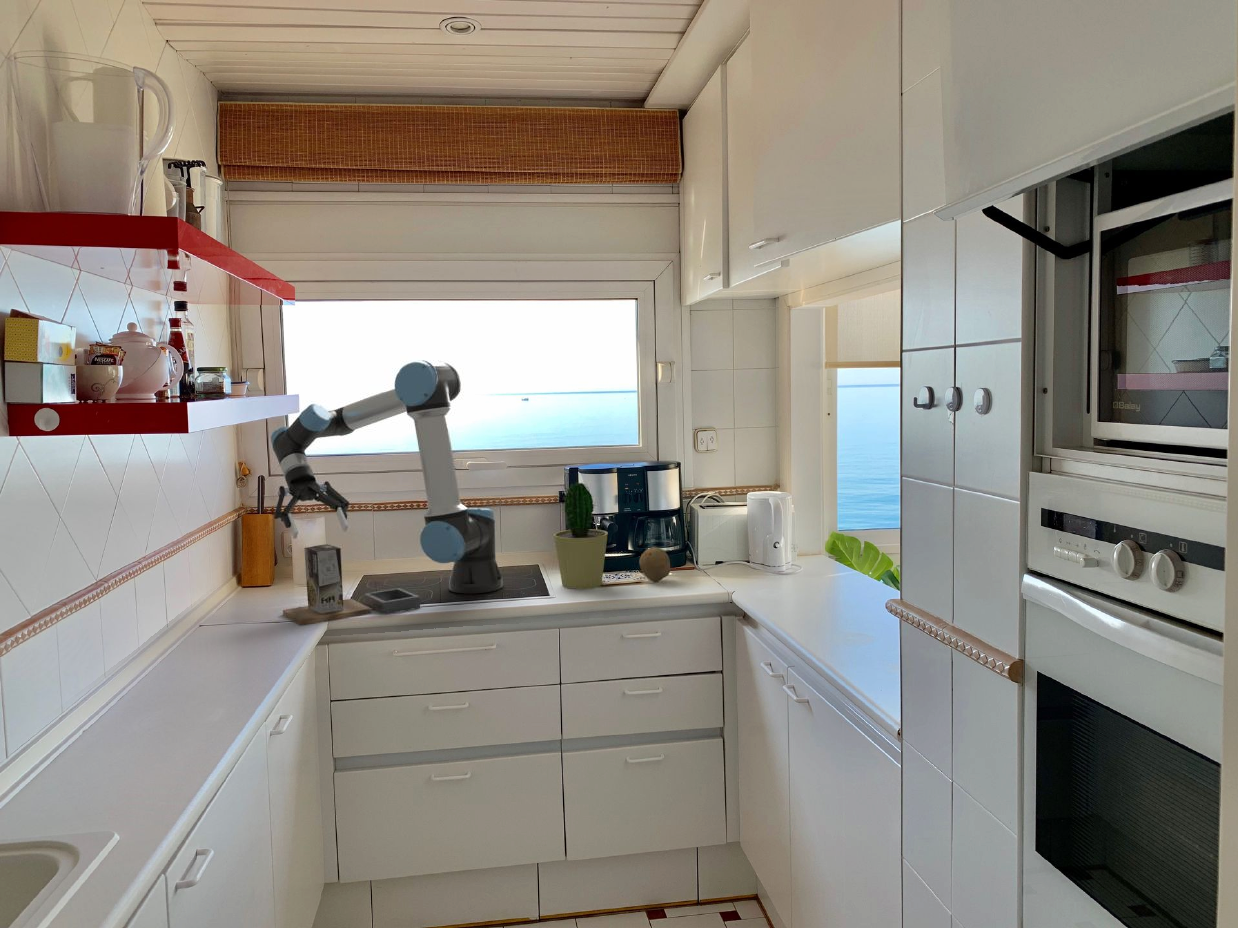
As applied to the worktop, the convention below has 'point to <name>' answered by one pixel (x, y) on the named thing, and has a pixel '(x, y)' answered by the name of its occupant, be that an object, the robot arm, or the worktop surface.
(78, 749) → the worktop surface
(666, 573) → the coconut
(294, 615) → the board
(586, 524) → the potted cactus
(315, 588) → the coffee box
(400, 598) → the holder
